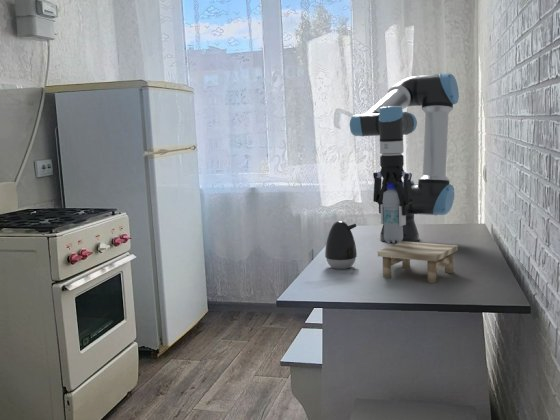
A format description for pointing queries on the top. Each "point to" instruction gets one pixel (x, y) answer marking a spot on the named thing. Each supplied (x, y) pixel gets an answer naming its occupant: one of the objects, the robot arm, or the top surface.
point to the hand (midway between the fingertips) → (393, 224)
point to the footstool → (419, 257)
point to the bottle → (392, 215)
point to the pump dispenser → (341, 246)
